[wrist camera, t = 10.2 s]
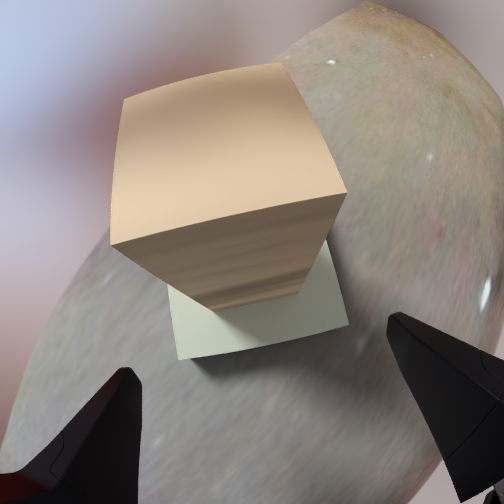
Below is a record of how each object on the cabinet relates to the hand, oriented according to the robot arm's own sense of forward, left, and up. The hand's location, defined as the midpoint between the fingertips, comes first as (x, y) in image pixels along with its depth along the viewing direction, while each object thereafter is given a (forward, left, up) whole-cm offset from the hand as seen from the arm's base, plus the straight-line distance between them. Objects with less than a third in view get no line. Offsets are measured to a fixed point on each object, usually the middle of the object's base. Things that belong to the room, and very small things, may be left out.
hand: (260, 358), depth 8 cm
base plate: (+6, +1, -11) cm, 12 cm away
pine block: (+6, +1, -8) cm, 10 cm away
